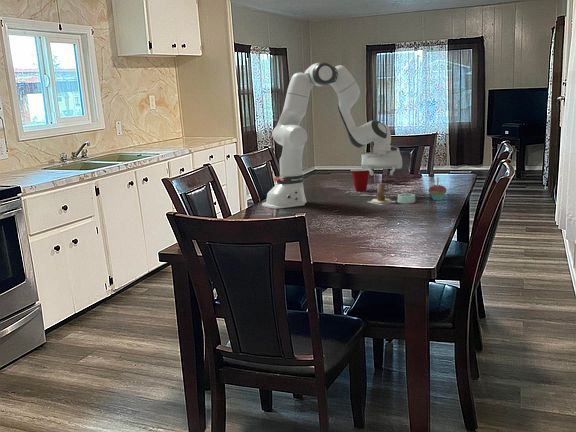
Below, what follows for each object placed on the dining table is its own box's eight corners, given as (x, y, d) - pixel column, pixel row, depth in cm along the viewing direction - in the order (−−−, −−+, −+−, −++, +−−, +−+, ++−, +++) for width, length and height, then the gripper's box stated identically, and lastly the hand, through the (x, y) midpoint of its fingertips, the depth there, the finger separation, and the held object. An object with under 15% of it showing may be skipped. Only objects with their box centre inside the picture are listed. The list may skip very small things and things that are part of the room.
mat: (380, 205, 270) (380, 204, 270) (366, 202, 278) (366, 201, 278) (395, 202, 276) (395, 201, 275) (381, 199, 284) (381, 198, 284)
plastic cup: (370, 188, 314) (370, 166, 312) (371, 192, 304) (371, 169, 301) (350, 188, 315) (350, 167, 313) (350, 192, 305) (350, 170, 302)
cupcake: (447, 201, 273) (447, 176, 271) (428, 201, 275) (429, 176, 272) (445, 197, 282) (446, 173, 279) (428, 197, 283) (428, 173, 281)
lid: (380, 204, 271) (380, 186, 269) (367, 201, 278) (367, 184, 276) (394, 201, 276) (394, 183, 274) (381, 199, 283) (381, 181, 281)
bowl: (406, 204, 270) (406, 197, 269) (394, 202, 276) (394, 195, 276) (418, 202, 274) (418, 195, 273) (406, 199, 281) (406, 192, 280)
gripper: (361, 149, 289) (360, 171, 282) (402, 148, 285) (402, 170, 278) (361, 156, 294) (360, 178, 287) (402, 155, 290) (402, 178, 283)
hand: (381, 174), depth 282 cm, fingers open, 8 cm apart
